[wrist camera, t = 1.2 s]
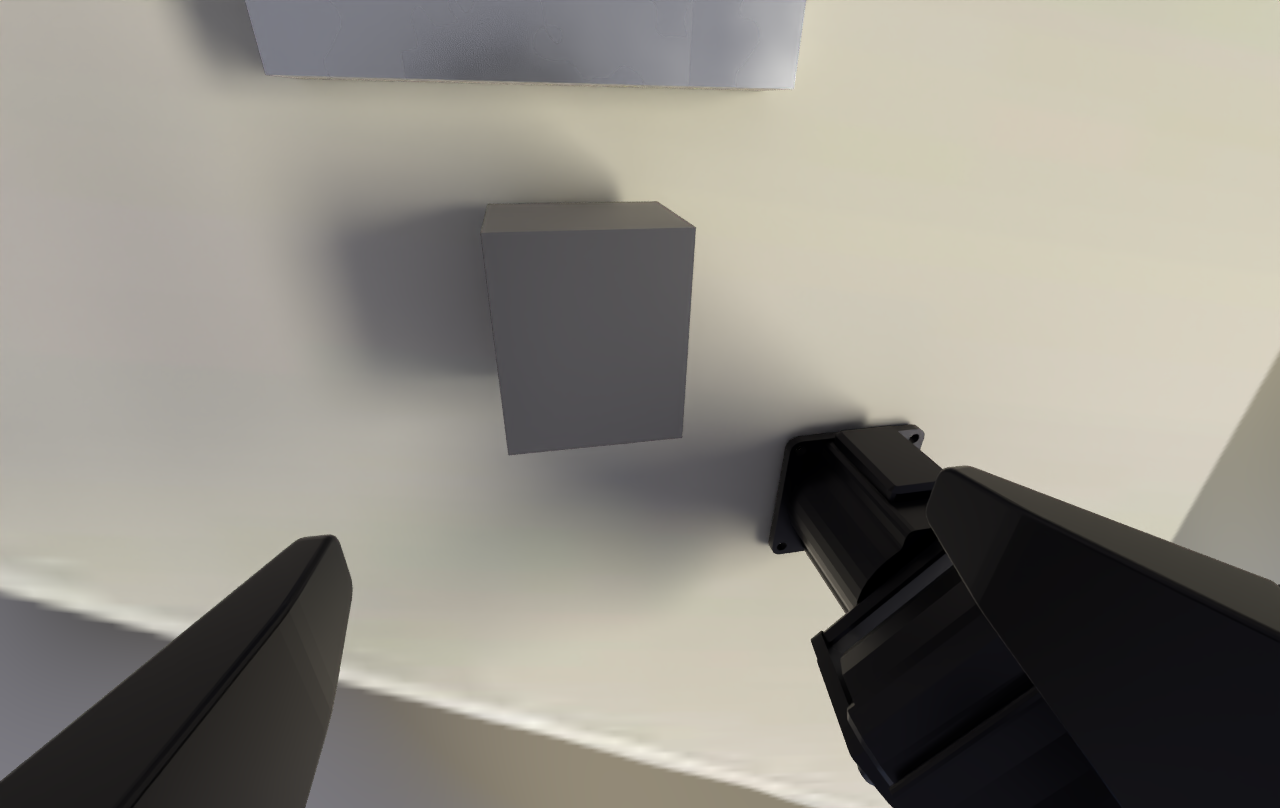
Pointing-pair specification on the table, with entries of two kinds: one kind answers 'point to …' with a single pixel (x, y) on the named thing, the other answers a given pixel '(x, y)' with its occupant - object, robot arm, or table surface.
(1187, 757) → the robot arm
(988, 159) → the table surface
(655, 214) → the plug
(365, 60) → the socket
